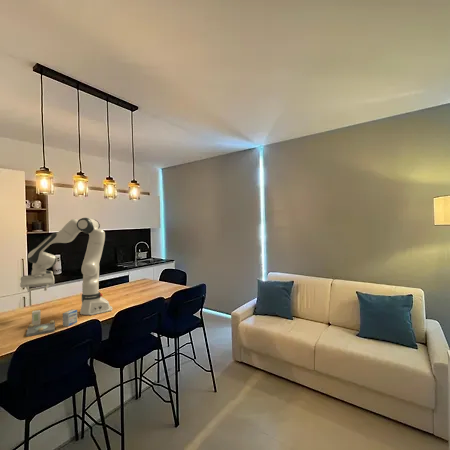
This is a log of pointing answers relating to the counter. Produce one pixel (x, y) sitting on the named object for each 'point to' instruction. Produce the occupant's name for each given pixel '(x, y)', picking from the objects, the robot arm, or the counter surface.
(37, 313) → the block
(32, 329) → the levelling base
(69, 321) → the medicine box
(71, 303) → the counter surface
